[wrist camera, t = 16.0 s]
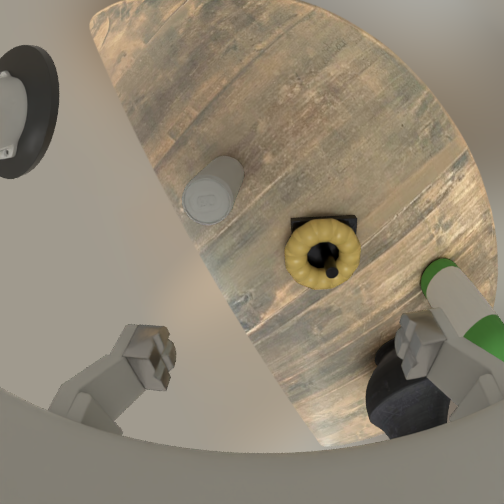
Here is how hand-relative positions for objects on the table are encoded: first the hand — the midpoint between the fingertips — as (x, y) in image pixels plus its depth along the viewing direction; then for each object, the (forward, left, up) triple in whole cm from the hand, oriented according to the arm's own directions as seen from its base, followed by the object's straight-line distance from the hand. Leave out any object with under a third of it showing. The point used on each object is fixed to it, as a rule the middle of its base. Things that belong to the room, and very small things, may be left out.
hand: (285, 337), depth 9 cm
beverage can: (-6, -1, -29) cm, 30 cm away
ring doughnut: (+6, -12, -26) cm, 29 cm away
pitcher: (+24, -36, -29) cm, 52 cm away
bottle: (+27, -19, -29) cm, 44 cm away
